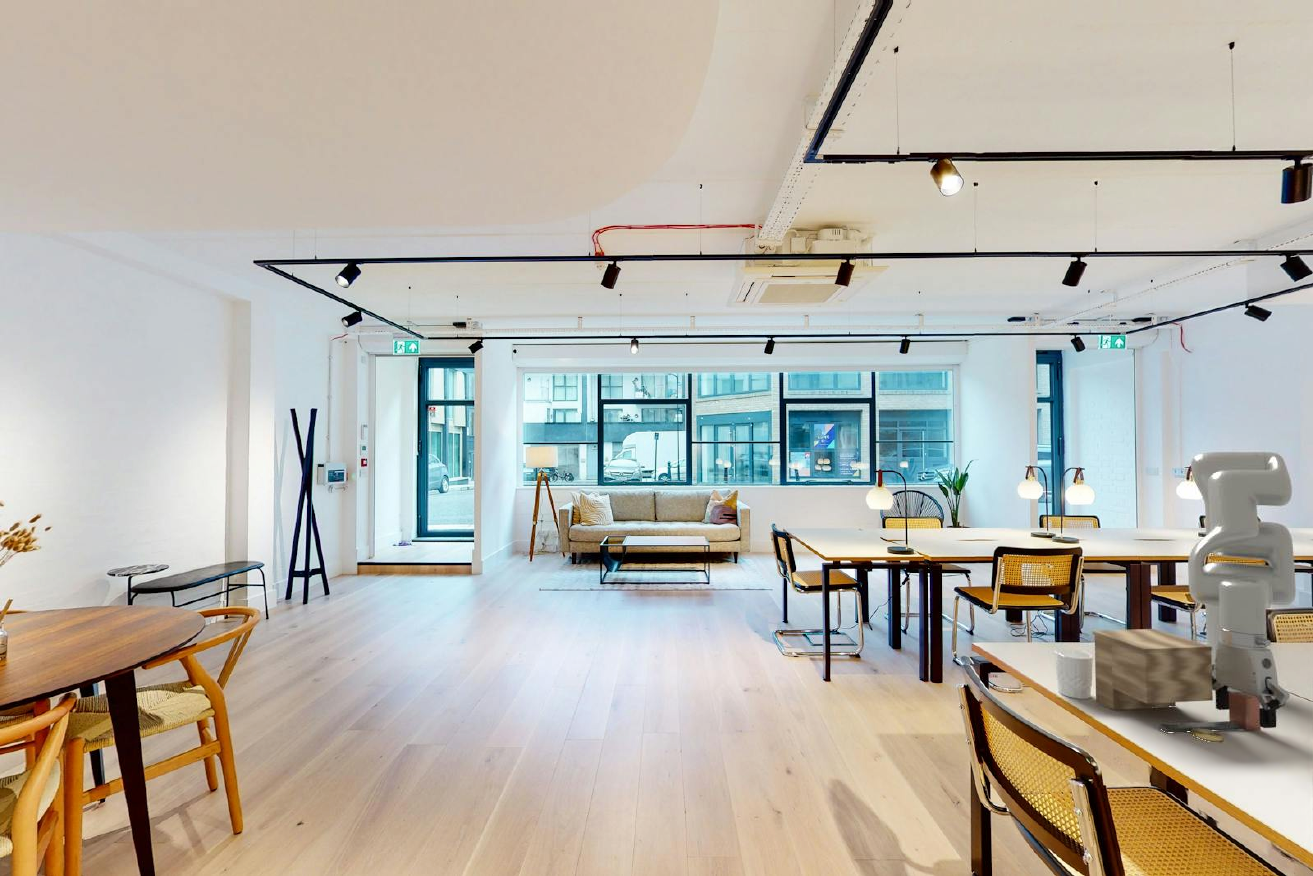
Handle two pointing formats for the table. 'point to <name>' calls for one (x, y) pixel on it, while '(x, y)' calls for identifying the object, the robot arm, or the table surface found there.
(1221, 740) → the brass token
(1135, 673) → the oak bench cabinet
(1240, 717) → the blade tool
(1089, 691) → the white cup
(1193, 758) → the table surface
